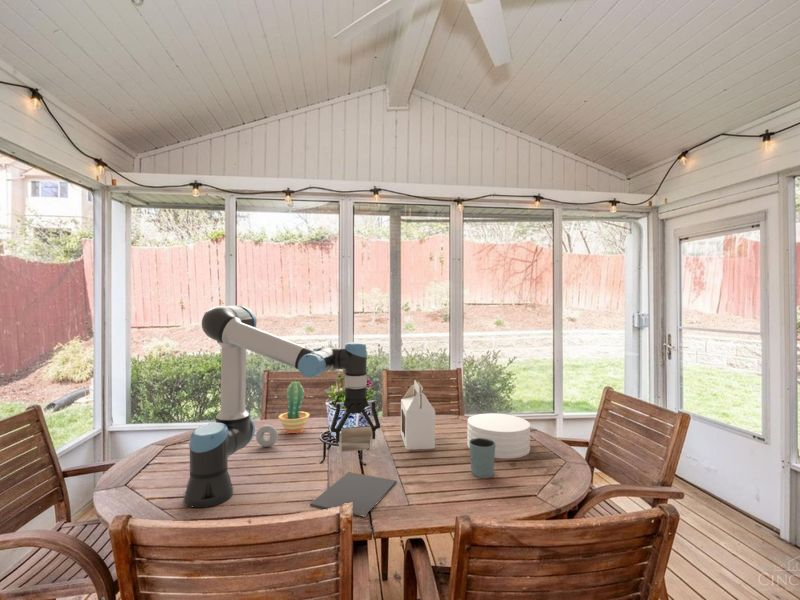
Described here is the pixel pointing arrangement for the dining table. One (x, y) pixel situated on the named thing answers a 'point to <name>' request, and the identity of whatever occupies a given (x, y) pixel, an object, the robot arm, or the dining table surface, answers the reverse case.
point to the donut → (267, 442)
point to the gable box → (417, 419)
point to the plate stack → (501, 433)
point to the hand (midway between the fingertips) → (355, 449)
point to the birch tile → (356, 438)
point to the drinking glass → (482, 457)
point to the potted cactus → (294, 409)
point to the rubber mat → (355, 492)
